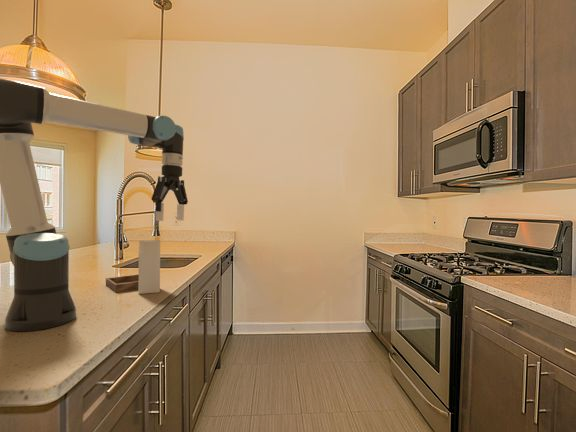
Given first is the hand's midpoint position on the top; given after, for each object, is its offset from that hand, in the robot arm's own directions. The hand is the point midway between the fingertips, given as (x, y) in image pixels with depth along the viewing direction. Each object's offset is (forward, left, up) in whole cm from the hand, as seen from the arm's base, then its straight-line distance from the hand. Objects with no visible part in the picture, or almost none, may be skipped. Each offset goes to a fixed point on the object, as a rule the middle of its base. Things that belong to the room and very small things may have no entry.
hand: (170, 220), depth 123 cm
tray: (-11, +13, -26) cm, 31 cm away
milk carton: (-8, 0, -27) cm, 28 cm away
